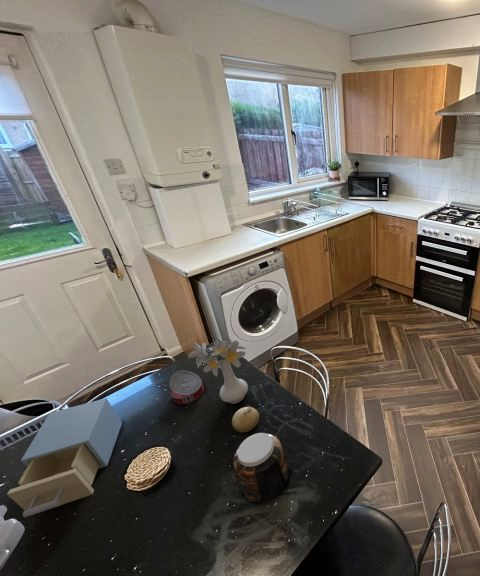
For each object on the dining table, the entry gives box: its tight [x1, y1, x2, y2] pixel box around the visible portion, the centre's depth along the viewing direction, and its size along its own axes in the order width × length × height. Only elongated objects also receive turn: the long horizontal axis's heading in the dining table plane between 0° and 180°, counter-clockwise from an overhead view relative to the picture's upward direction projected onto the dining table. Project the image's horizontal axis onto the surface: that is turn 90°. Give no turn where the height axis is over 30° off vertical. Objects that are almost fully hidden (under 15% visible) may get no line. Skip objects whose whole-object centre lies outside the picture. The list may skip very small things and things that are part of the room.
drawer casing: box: [20, 397, 123, 470], centre depth 91 cm, size 16×14×12 cm
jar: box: [232, 432, 290, 504], centre depth 82 cm, size 12×12×15 cm
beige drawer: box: [6, 444, 100, 519], centre depth 81 cm, size 19×13×10 cm, turn 24°
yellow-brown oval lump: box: [231, 404, 260, 433], centre depth 99 cm, size 8×8×7 cm
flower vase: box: [187, 335, 249, 405], centre depth 105 cm, size 13×18×25 cm
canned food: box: [168, 369, 205, 405], centre depth 112 cm, size 11×10×10 cm
